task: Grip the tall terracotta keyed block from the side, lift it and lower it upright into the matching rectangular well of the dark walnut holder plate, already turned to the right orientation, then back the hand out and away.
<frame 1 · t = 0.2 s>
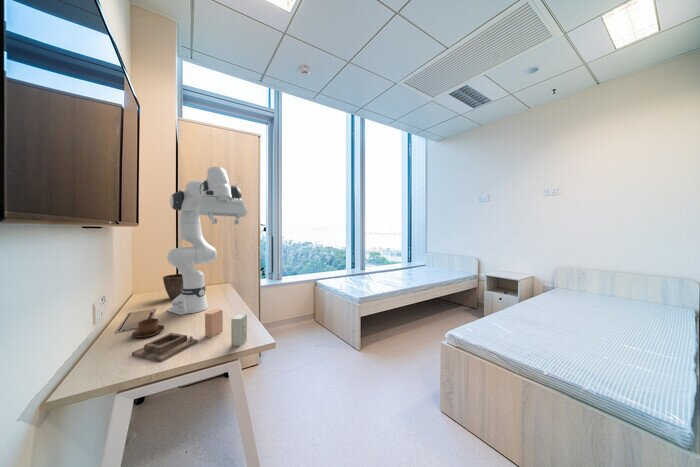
hand: (226, 223, 109), 54 cm above the table, tool tilted 30°, fingers open, 8 cm apart
skincare box: (239, 343, 109), on the table
plant pot: (176, 298, 172), on the table
keyed holder: (166, 348, 103), on the table
keyed block: (214, 333, 117), on the table
cup and saucer: (148, 334, 117), on the table
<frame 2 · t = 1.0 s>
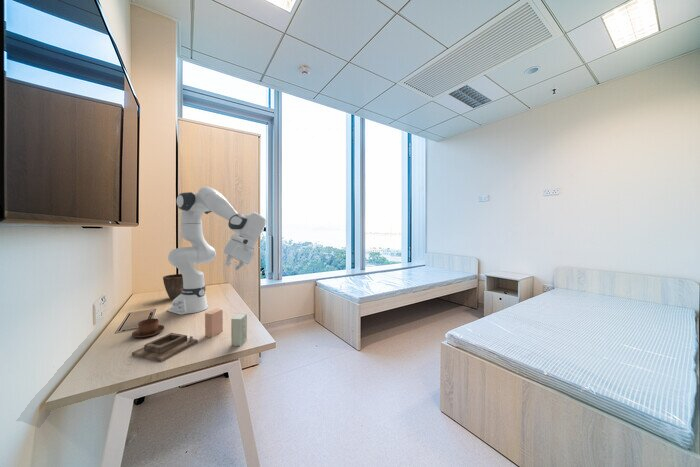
hand: (232, 267, 119), 32 cm above the table, tool tilted 30°, fingers open, 8 cm apart
nothing on the table moved.
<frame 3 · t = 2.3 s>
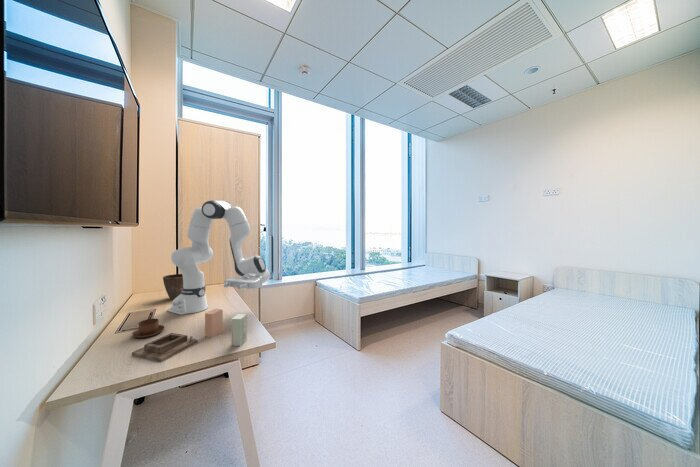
hand: (231, 286, 128), 20 cm above the table, tool horizontal, fingers open, 8 cm apart
nothing on the table moved.
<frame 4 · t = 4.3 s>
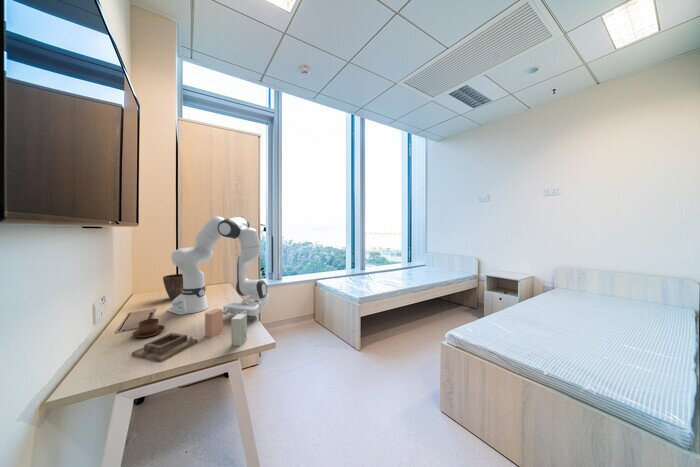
hand: (231, 314, 128), 5 cm above the table, tool horizontal, fingers open, 8 cm apart
nothing on the table moved.
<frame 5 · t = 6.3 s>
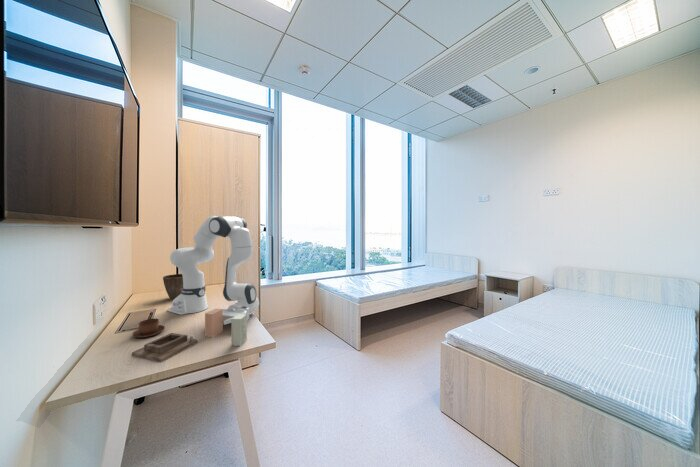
hand: (215, 321, 118), 6 cm above the table, tool horizontal, fingers open, 8 cm apart
nothing on the table moved.
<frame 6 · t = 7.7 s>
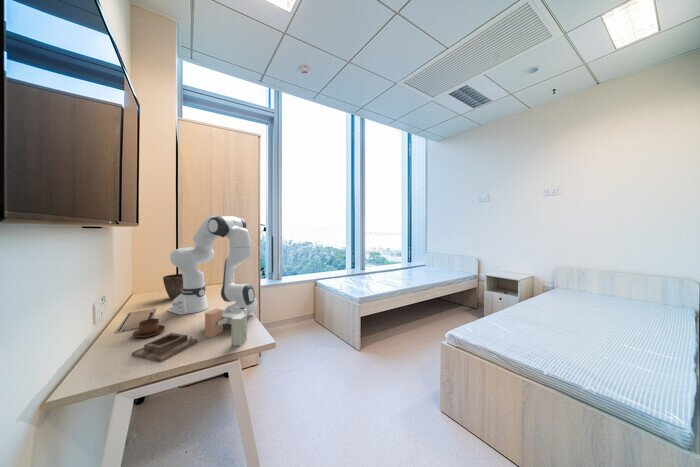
hand: (212, 323, 116), 6 cm above the table, tool horizontal, fingers closed on keyed block, 4 cm apart
keyed block: (214, 333, 117), on the table, touching gripper
everything else where it was.
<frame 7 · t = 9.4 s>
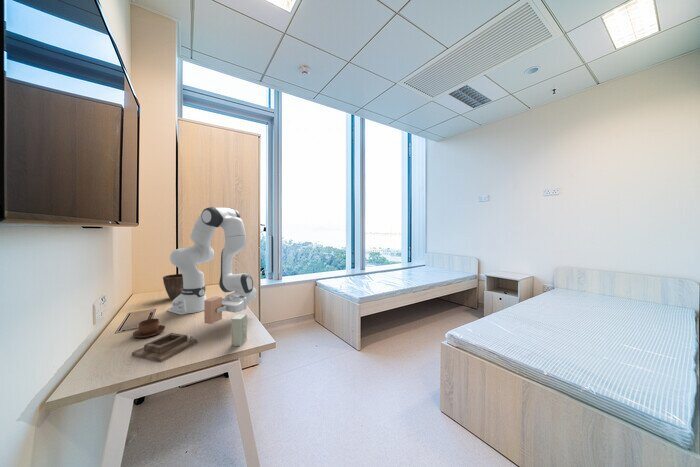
hand: (211, 310, 116), 12 cm above the table, tool horizontal, fingers closed on keyed block, 4 cm apart
keyed block: (213, 320, 117), point 6 cm above the table, touching gripper
everything else where it was.
when the fingers open (8 cm above the table, at t = 15.0 s): keyed block drops 1 cm, resting on keyed holder.
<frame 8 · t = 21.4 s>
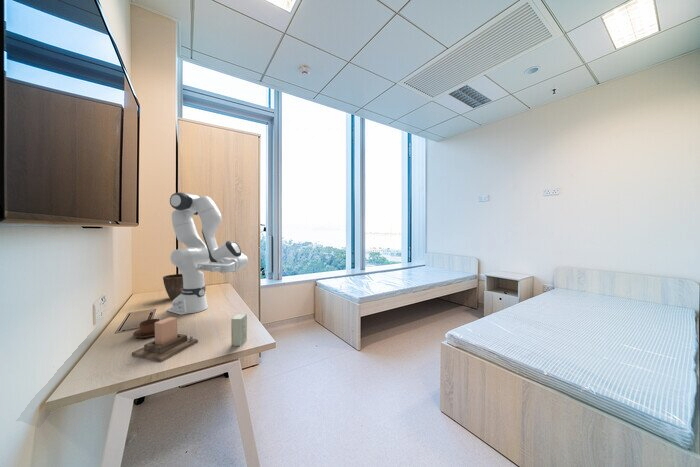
hand: (204, 269, 123), 30 cm above the table, tool horizontal, fingers open, 8 cm apart
keyed block: (166, 345, 103), point 1 cm above the table, touching keyed holder
everything else where it was.
at the end: keyed block 0.1 cm off-centre on the keyed holder, point 1.2 cm above the keyed holder's base; keyed block tilted 0°; the gripper is holding nothing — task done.
